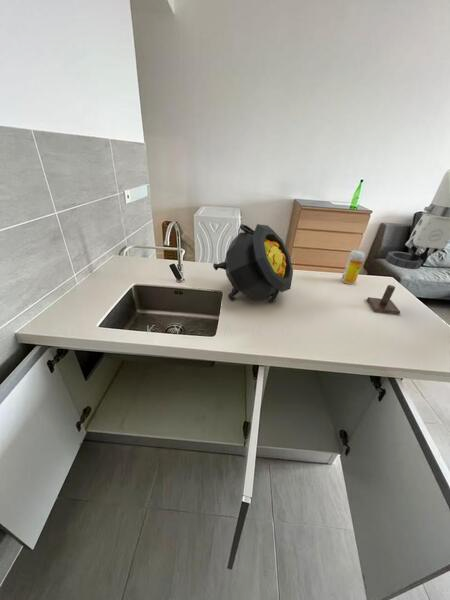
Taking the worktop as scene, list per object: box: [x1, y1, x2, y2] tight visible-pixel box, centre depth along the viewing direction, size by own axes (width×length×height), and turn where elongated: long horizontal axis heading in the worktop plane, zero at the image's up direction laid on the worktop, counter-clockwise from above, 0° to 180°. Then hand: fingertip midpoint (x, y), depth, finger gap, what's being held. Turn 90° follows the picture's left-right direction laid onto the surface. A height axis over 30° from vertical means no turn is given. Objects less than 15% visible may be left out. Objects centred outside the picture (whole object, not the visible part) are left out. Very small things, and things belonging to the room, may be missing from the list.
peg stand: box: [366, 284, 401, 316], centre depth 96 cm, size 9×9×10 cm
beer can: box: [341, 249, 366, 285], centre depth 113 cm, size 6×6×15 cm
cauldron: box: [212, 223, 294, 303], centre depth 95 cm, size 28×28×24 cm
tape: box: [384, 250, 423, 270], centre depth 88 cm, size 11×11×2 cm
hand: (415, 264), depth 88 cm, fingers closed on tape, 1 cm apart
